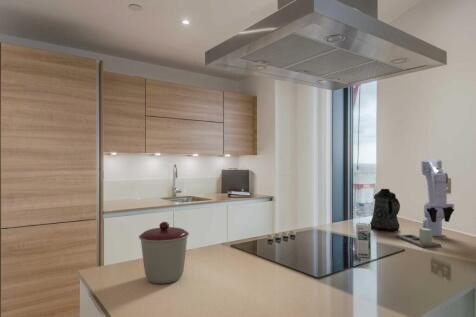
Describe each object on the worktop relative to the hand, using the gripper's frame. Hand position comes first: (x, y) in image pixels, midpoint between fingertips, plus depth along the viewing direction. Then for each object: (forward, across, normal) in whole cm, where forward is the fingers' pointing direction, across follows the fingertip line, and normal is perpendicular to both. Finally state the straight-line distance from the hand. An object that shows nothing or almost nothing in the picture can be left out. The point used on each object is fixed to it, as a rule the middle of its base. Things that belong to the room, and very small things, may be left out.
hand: (440, 221), depth 167 cm
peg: (+10, -12, -5) cm, 17 cm away
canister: (+11, -139, -31) cm, 143 cm away
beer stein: (+11, -11, +30) cm, 34 cm away
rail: (+10, -12, +2) cm, 16 cm away
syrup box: (+11, -52, -16) cm, 55 cm away
